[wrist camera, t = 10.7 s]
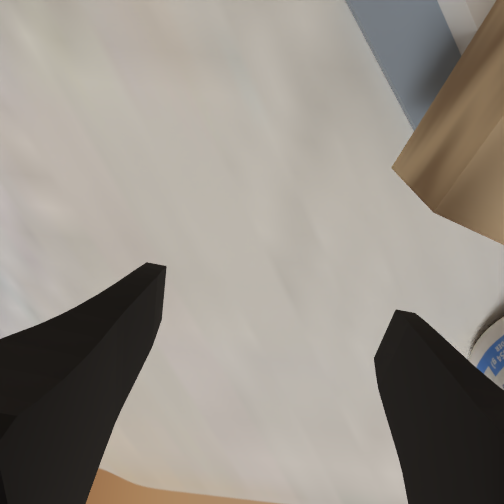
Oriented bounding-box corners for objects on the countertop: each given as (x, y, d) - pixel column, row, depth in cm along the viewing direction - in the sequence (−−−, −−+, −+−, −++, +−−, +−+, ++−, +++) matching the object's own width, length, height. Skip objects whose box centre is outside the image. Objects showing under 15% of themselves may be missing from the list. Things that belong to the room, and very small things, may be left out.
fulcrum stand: (614, 84, 17) (681, 91, 14) (441, 183, 20) (469, 206, 17) (541, -164, 14) (610, -219, 11) (343, -4, 16) (356, -15, 13)
